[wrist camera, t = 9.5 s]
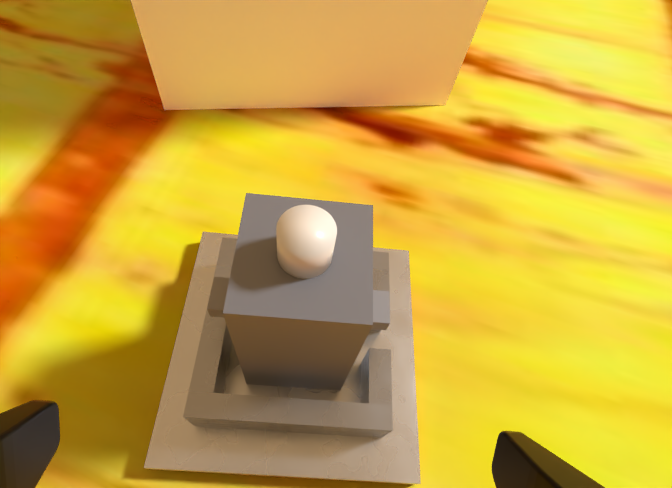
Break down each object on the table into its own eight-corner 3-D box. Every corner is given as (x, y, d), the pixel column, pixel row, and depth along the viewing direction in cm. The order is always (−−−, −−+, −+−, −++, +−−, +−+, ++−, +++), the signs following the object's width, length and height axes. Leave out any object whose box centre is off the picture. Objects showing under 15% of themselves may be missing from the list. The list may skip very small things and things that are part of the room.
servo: (367, 392, 21) (431, 309, 12) (217, 382, 20) (163, 287, 11) (368, 306, 23) (421, 182, 14) (234, 295, 22) (200, 160, 14)
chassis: (414, 484, 20) (437, 481, 17) (149, 469, 19) (124, 463, 16) (404, 259, 26) (419, 227, 23) (205, 240, 25) (194, 205, 22)
